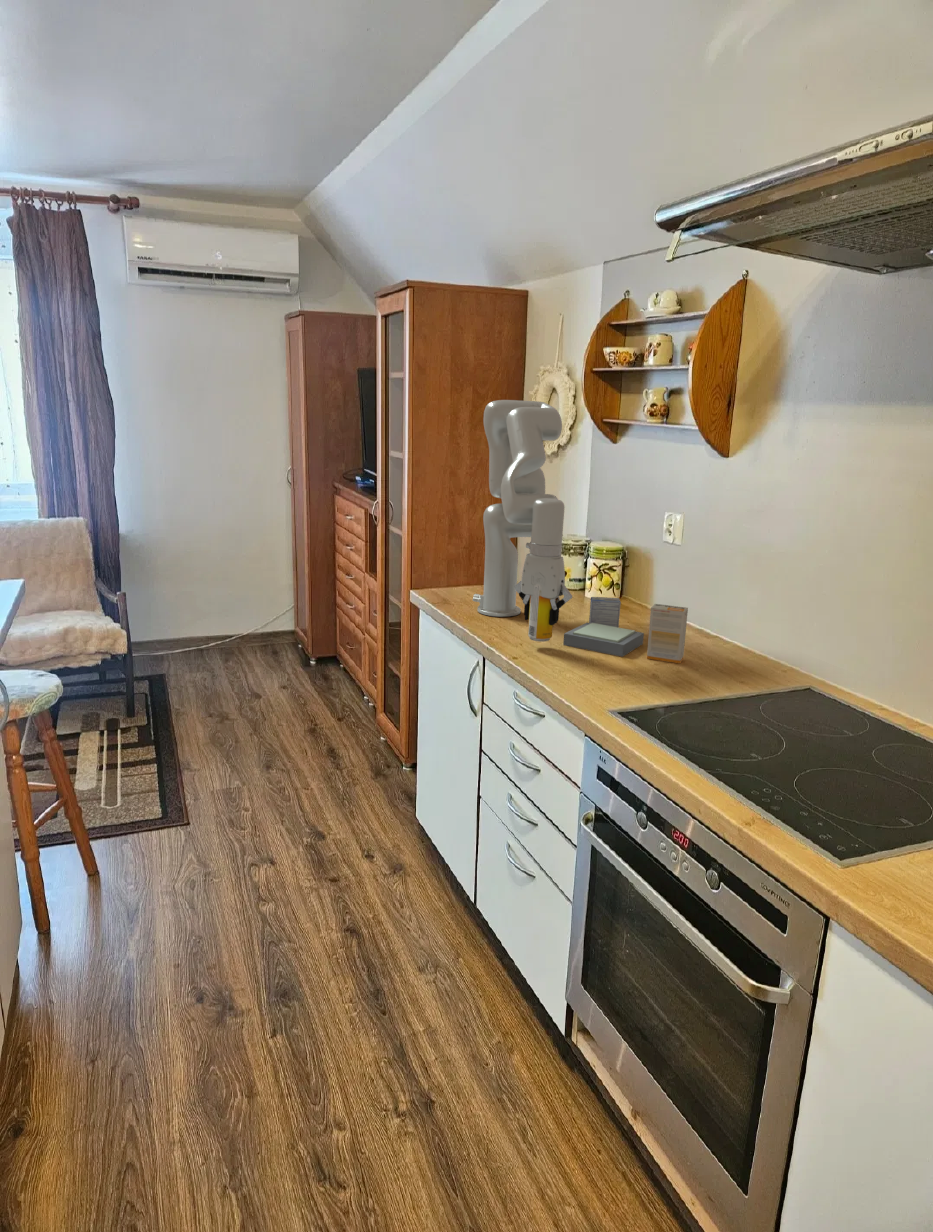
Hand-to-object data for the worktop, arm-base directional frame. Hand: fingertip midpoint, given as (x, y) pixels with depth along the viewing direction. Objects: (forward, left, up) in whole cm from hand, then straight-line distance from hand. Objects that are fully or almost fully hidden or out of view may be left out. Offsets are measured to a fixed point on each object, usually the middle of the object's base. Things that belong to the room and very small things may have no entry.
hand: (540, 620), depth 202 cm
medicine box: (+6, +27, -7) cm, 29 cm away
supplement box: (+29, +11, -7) cm, 32 cm away
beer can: (0, 0, -5) cm, 5 cm away
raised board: (+12, +13, -7) cm, 19 cm away
